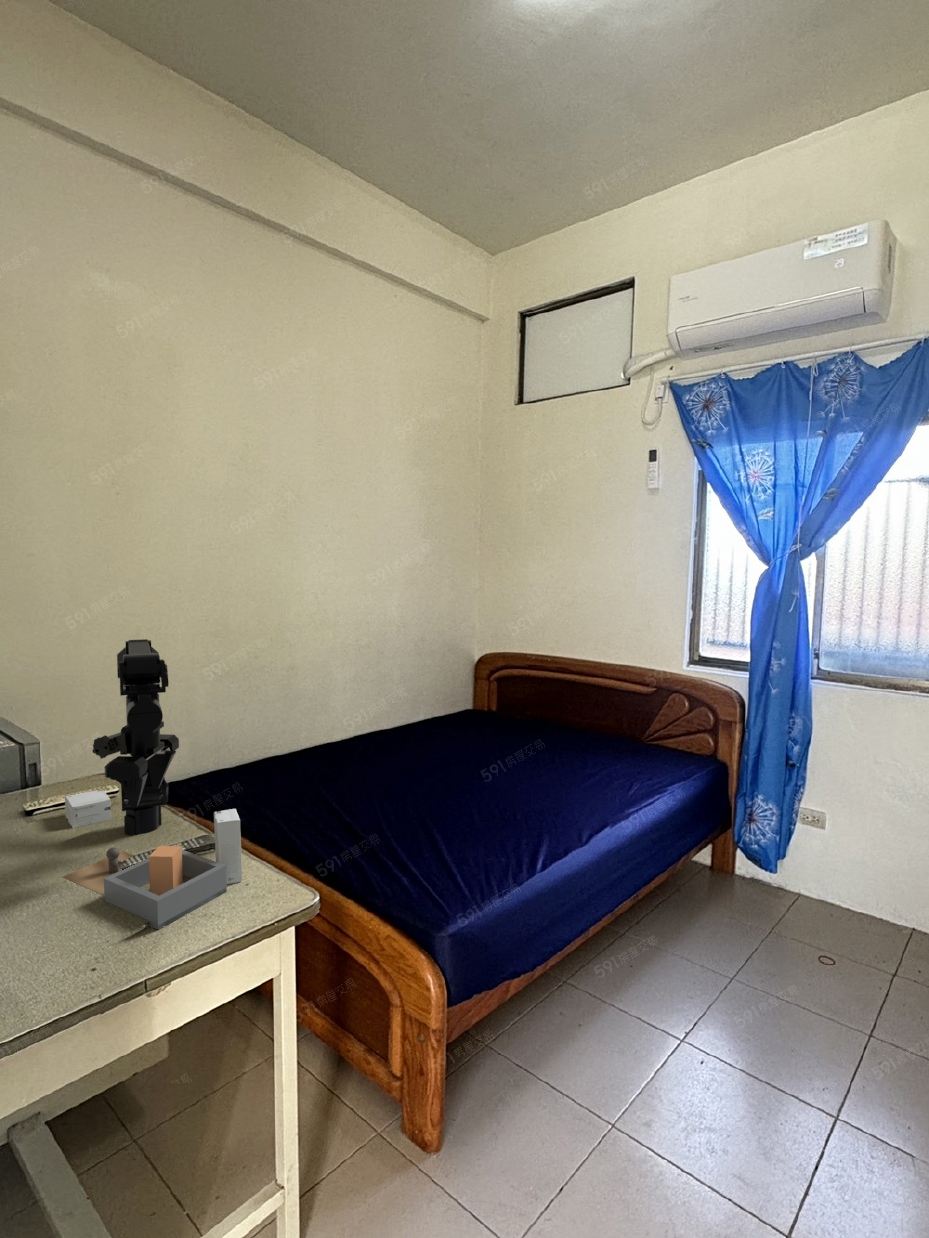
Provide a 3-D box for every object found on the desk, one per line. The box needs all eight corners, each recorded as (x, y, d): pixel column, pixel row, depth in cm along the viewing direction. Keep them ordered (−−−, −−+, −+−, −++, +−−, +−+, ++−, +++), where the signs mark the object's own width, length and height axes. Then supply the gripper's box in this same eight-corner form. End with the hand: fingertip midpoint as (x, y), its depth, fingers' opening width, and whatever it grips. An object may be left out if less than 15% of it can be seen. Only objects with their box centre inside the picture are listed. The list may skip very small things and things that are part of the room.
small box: (72, 829, 144) (71, 806, 143) (65, 817, 150) (64, 795, 149) (111, 820, 149) (111, 798, 148) (103, 809, 155) (102, 788, 154)
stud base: (123, 855, 132) (122, 828, 131) (163, 871, 126) (162, 843, 126) (62, 881, 122) (61, 852, 121) (103, 900, 116) (101, 869, 115)
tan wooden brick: (160, 888, 119) (159, 845, 118) (182, 888, 119) (181, 846, 118) (150, 900, 115) (149, 856, 114) (173, 900, 115) (172, 856, 114)
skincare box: (243, 881, 123) (242, 819, 122) (217, 886, 121) (216, 823, 120) (238, 867, 129) (238, 807, 127) (214, 871, 127) (213, 810, 125)
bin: (174, 871, 126) (174, 846, 126) (226, 891, 120) (226, 865, 119) (104, 905, 114) (103, 878, 113) (158, 930, 107) (157, 901, 107)
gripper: (124, 706, 136) (126, 780, 138) (73, 732, 117) (76, 816, 119) (179, 707, 136) (180, 780, 138) (136, 733, 118) (139, 817, 119)
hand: (145, 797), depth 129 cm, fingers open, 9 cm apart
